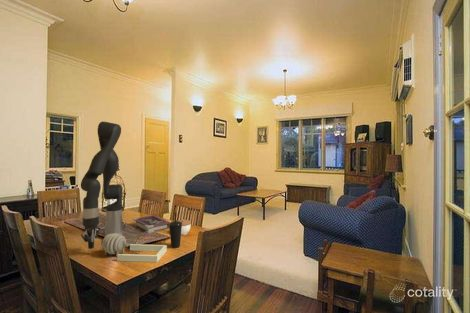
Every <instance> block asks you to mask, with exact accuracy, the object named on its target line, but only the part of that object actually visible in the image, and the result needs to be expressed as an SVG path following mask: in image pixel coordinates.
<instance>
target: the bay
mask: <svg viewBox="0 0 470 313" xmlns="http://www.w3.org/2000/svg"><path fill="white" fill-rule="evenodd" d="M167 247H168V246H167V244H166V245H165V244H135V243H133V244H132V243H131V244H129V251H134V252H135V251H136V252H137V251H140V252H143V251H144V252H157V253H156V254H133V253H132V254H131V253H127V254H125V253H124V254H122V253H119V254H118V255H117V257H116V258H117V260H116V261H117V262H137V263H139V262H141V263H142V262H143V263H158V262H159V261H160V260H161V258H163V256H164V254H165V253H166V252H167V251H168V248H167Z"/></svg>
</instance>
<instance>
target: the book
mask: <svg viewBox="0 0 470 313" xmlns="http://www.w3.org/2000/svg"><path fill="white" fill-rule="evenodd" d="M132 221H133V222H135V223H133V226H135V227H137V228H138V229H140V230H142V231H143V232H145V233H147V234H151V233H155V232H159V231H164V230H168V229H169V230H170V228H169V223H170V222H171V221H168V220H165V219H164V218H161V217H159V216H156V215H155V214H153V215H147V216H142V217H136V218H135V217H134V218H132Z"/></svg>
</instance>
